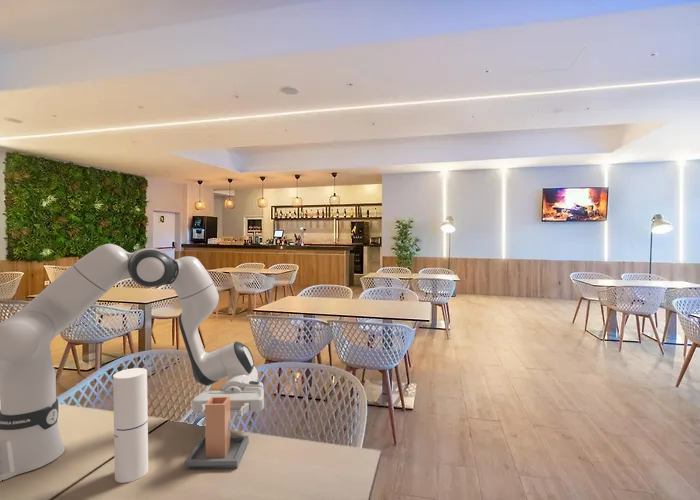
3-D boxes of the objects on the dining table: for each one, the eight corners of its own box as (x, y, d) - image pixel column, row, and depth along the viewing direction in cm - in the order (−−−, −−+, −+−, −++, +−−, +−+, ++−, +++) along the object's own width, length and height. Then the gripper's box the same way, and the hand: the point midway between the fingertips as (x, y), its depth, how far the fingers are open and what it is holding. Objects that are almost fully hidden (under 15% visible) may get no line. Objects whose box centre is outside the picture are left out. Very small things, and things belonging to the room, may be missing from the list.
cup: (205, 457, 96) (205, 404, 96) (212, 447, 101) (211, 396, 101) (225, 457, 97) (224, 404, 96) (230, 446, 102) (230, 396, 101)
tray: (184, 469, 93) (184, 461, 93) (202, 443, 105) (202, 436, 105) (237, 468, 93) (237, 460, 93) (248, 442, 105) (248, 435, 105)
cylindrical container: (133, 484, 87) (131, 379, 87) (107, 480, 89) (105, 377, 88) (154, 466, 94) (153, 369, 94) (130, 462, 96) (129, 367, 95)
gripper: (201, 383, 114) (182, 403, 101) (267, 382, 115) (258, 401, 101) (201, 403, 115) (182, 426, 101) (268, 402, 115) (258, 424, 101)
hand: (221, 414), depth 101 cm, fingers open, 8 cm apart
